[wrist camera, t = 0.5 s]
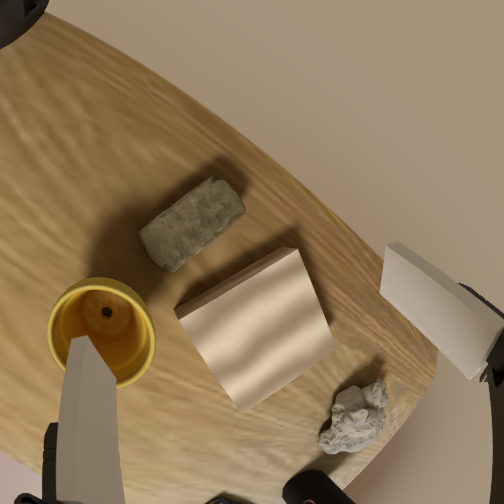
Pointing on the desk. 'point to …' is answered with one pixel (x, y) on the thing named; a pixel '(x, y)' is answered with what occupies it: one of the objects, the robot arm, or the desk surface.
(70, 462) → the robot arm
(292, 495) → the coffee jar
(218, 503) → the race car
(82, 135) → the desk surface
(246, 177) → the desk surface
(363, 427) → the mineral
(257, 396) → the birch block
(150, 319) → the plant pot
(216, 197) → the stone block
